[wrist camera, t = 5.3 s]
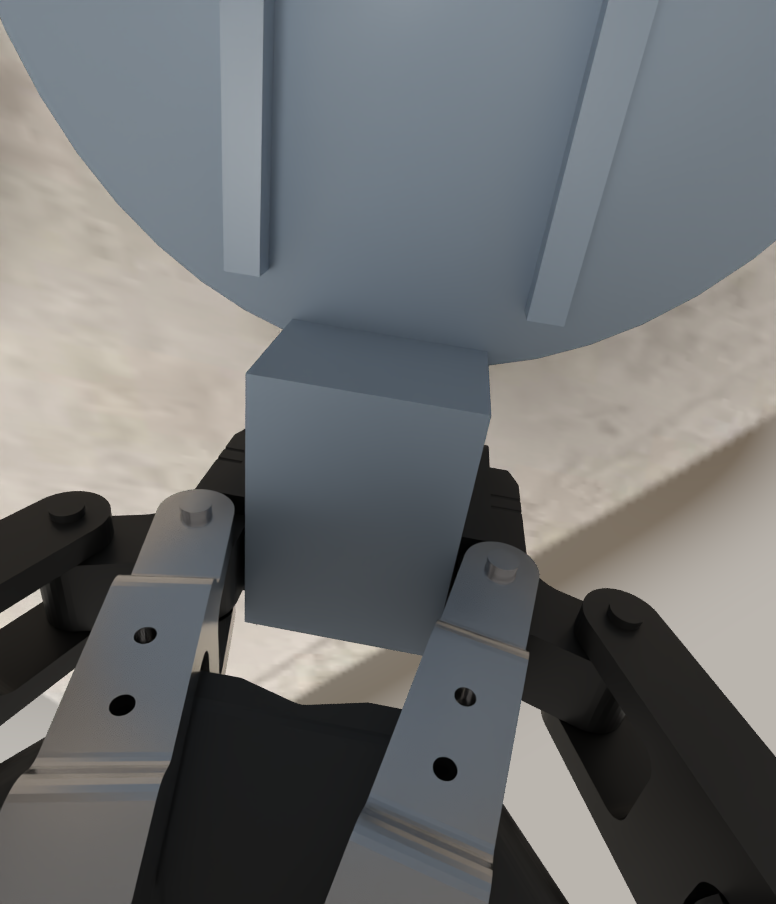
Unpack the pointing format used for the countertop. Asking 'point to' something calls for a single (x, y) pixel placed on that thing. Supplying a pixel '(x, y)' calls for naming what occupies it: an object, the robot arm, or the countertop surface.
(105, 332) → the countertop surface
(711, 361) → the countertop surface
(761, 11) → the lid
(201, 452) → the countertop surface
